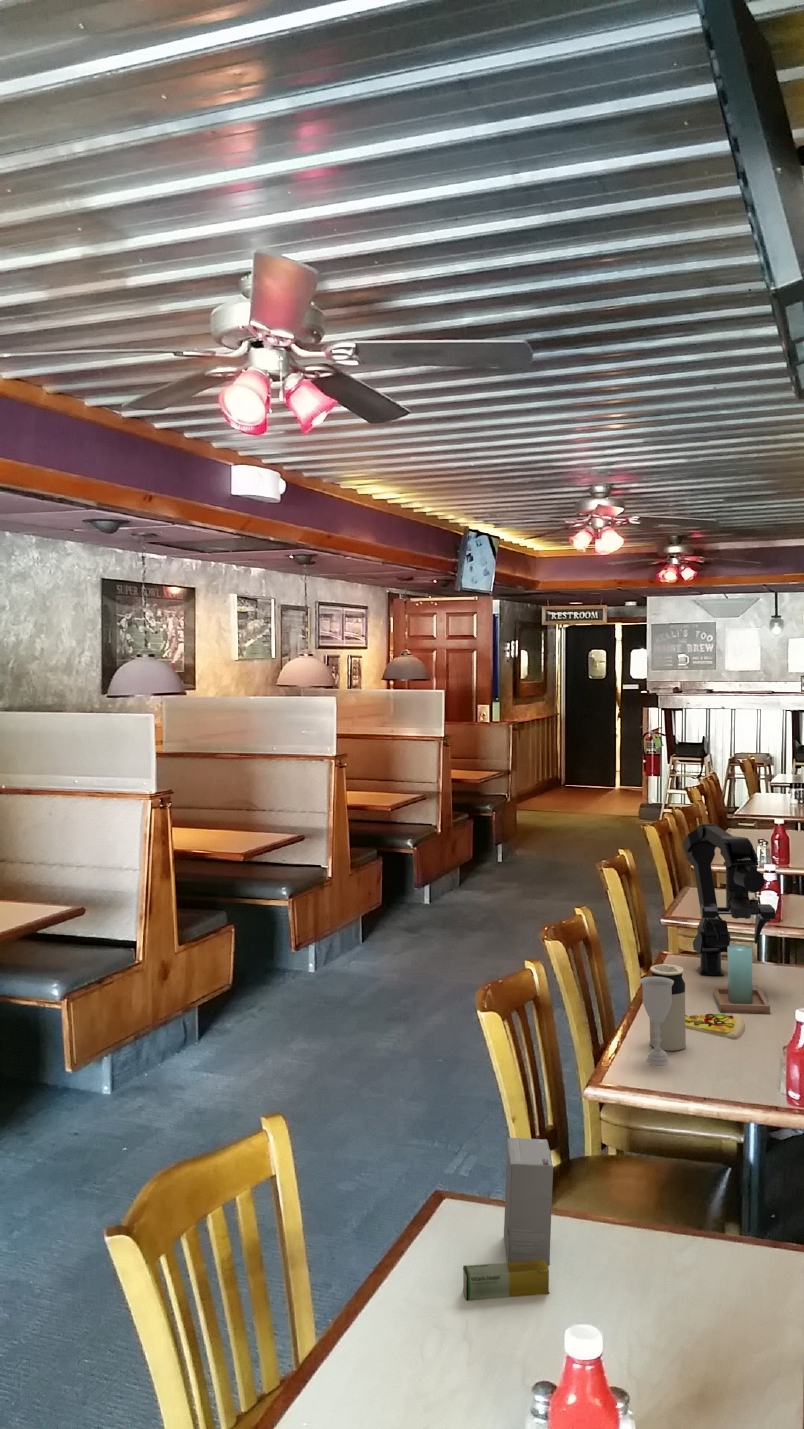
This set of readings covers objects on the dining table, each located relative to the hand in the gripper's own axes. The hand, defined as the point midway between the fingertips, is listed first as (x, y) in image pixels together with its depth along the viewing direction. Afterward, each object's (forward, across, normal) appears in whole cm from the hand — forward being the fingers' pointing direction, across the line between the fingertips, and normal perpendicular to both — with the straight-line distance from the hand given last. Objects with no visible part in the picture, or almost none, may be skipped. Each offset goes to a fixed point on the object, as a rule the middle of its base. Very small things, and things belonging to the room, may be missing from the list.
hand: (737, 943), depth 281 cm
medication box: (+15, -53, -144) cm, 154 cm away
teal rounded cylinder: (+12, -1, -11) cm, 16 cm away
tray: (+13, -1, -11) cm, 17 cm away
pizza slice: (+14, -13, -28) cm, 34 cm away
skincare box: (+14, -50, -133) cm, 143 cm away
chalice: (+14, -25, -53) cm, 60 cm away
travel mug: (+14, -22, -43) cm, 50 cm away
